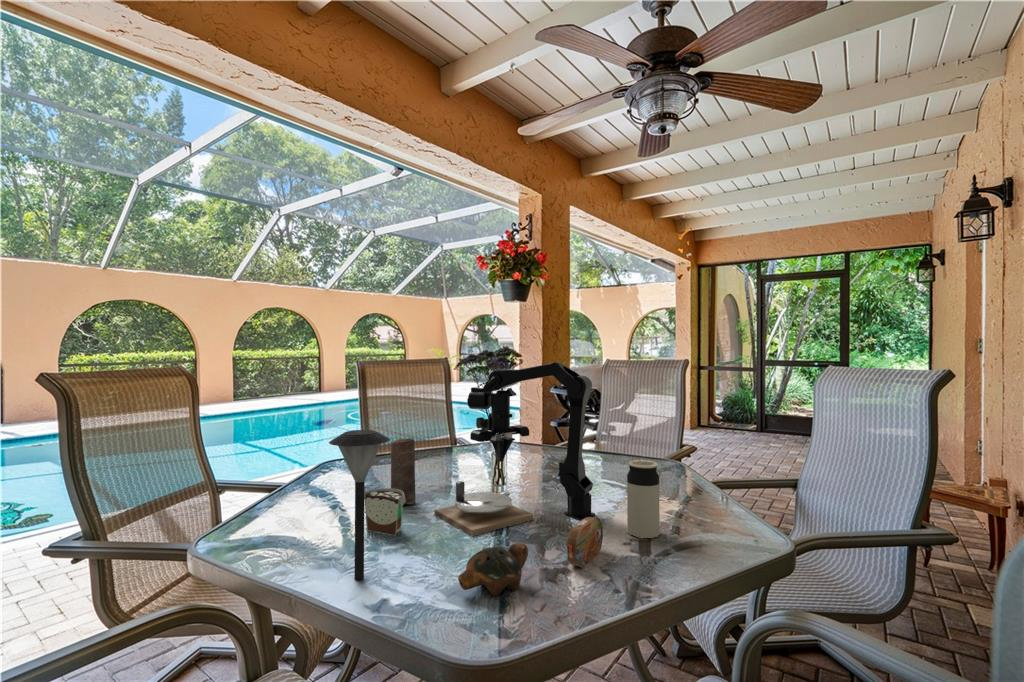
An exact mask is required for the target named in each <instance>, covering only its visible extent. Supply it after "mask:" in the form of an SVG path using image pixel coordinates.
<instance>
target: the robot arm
mask: <svg viewBox="0 0 1024 682" xmlns="http://www.w3.org/2000/svg"><path fill="white" fill-rule="evenodd" d="M546 377H553V378H555V379H556V380H557V381H558V382H559V383H560V384H561V386H563V387H565V388H566V395H567V396H566V397H567V400H568V403H569V420H568V433H567V447H566V456H565V458H564V459H562V460H561V461H559V463H558V474H557V477H558V478H559V482H560V485H562V487H563V488H564V491H565V494H566V496H567V511H564V513H563V515H566V516H568V517H570V518H573V519H576V520H580V521H582V520H583V519H585V518H586V517H595V516H596V513H594V512H592V494H590V491H592V489H593V486H594V483H593V482H592V481H591V479H590V478H589V477H588V476H587V475H586V466H585V465H586V464H585V462H584V461H585V460H584V459H583V445H584V433H585V418H586V408H587V404H588V403H589V400H590V396H591V393H592V389H593V382H592V380H591V379H590V377H588V376H586V375H583V374H582V375H580V374H579V373H578V372H577V371H574V369H572V368H569V367H568V366H566V365H564V364H563V362H560V361H552V362H550V363H546V364H541V365H535V366H531V367H525V368H519V369H494V370H492V371H491V372H490V374H489V376H488V380H487V381H486V382H485V384H484V386H483V387H476V386H475V387H471V388H470V392H469V394H468V397H467V401H466V402H467V407H468V408H469V409H471V410H485V411H487V410H489V409H490V407H491V410H490V411H491V412H490V413H488V416H487V417H488V418H484V417H483V416H481V417H477V418H476V419H475V425H476V426H475V427H476V428H477V429H472V430H471V432H470V437H469V439H470V440H472V441H474V442H478V443H485V442H490V443H491V444H492V445H491V446H492V447H493V450H494V452H495V454H496V458H497V461H498V462H500V463H501V462H503V461H504V460H505V457H506V455H507V453H508V450H509V448H510V447H511V445H512V443H513V442H514V441H516V438H515V437H513V435H520V436H521V437H529V436H530V429H529V427H528V426H526V425H520V424H518V425H517V424H516V425H515V424H514V425H511V418H513V413H511V400H510V399H511V397H515V396H517V393H516V392H515V391H514V390H513V389H512V387H511V386H514V385H516V384H519V383H521V382H524V381H531V380H534V379H536V380H537V379H540V378H546ZM505 388H507V389H506V390H503V389H505ZM501 389H502V390H501ZM495 391H496V392H495Z"/></svg>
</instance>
